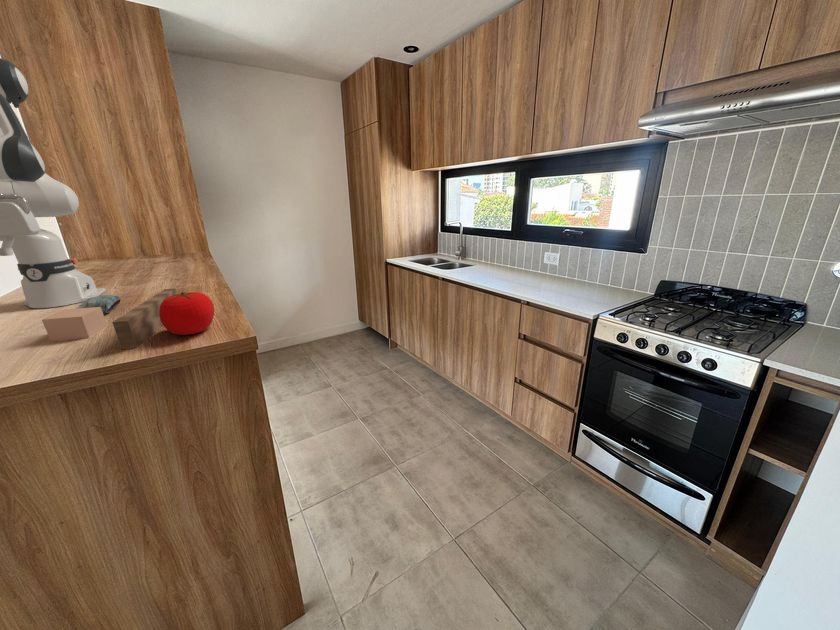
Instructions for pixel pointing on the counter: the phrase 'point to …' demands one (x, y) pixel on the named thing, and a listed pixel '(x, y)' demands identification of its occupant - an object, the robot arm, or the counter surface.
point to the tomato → (186, 313)
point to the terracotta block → (75, 323)
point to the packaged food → (101, 302)
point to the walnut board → (141, 321)
